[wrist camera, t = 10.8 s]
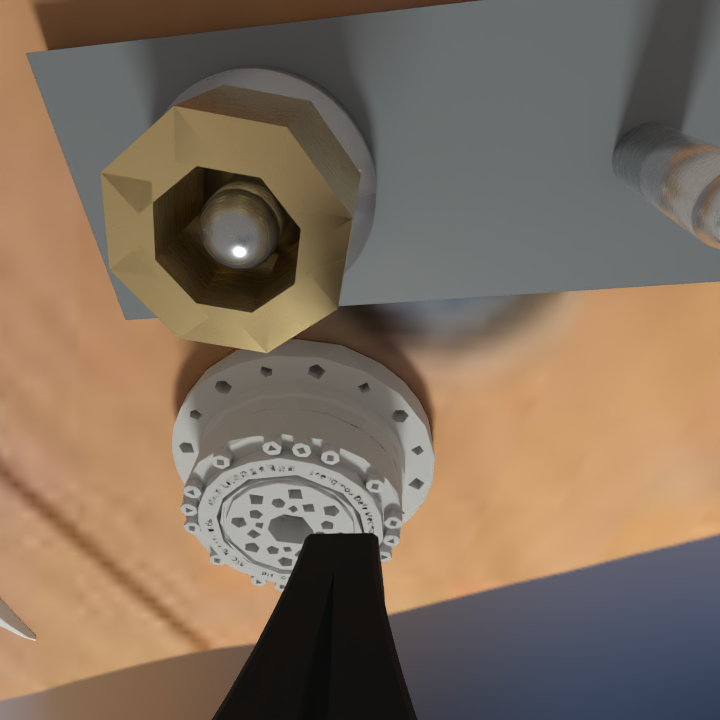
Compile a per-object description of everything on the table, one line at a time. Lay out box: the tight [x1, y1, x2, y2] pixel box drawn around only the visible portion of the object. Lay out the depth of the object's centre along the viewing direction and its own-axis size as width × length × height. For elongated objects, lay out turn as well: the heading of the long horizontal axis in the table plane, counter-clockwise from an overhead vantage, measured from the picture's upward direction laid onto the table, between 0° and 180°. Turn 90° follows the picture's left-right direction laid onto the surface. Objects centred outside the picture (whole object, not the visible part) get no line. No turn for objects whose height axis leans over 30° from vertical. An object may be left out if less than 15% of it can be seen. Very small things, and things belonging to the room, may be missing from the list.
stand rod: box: [612, 122, 720, 249], centre depth 12 cm, size 2×2×5 cm
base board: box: [26, 0, 720, 320], centre depth 15 cm, size 20×8×1 cm, turn 96°
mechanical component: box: [172, 339, 435, 591], centre depth 20 cm, size 10×4×10 cm
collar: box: [100, 84, 361, 353], centre depth 13 cm, size 5×5×4 cm
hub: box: [164, 65, 377, 272], centre depth 13 cm, size 6×6×4 cm
